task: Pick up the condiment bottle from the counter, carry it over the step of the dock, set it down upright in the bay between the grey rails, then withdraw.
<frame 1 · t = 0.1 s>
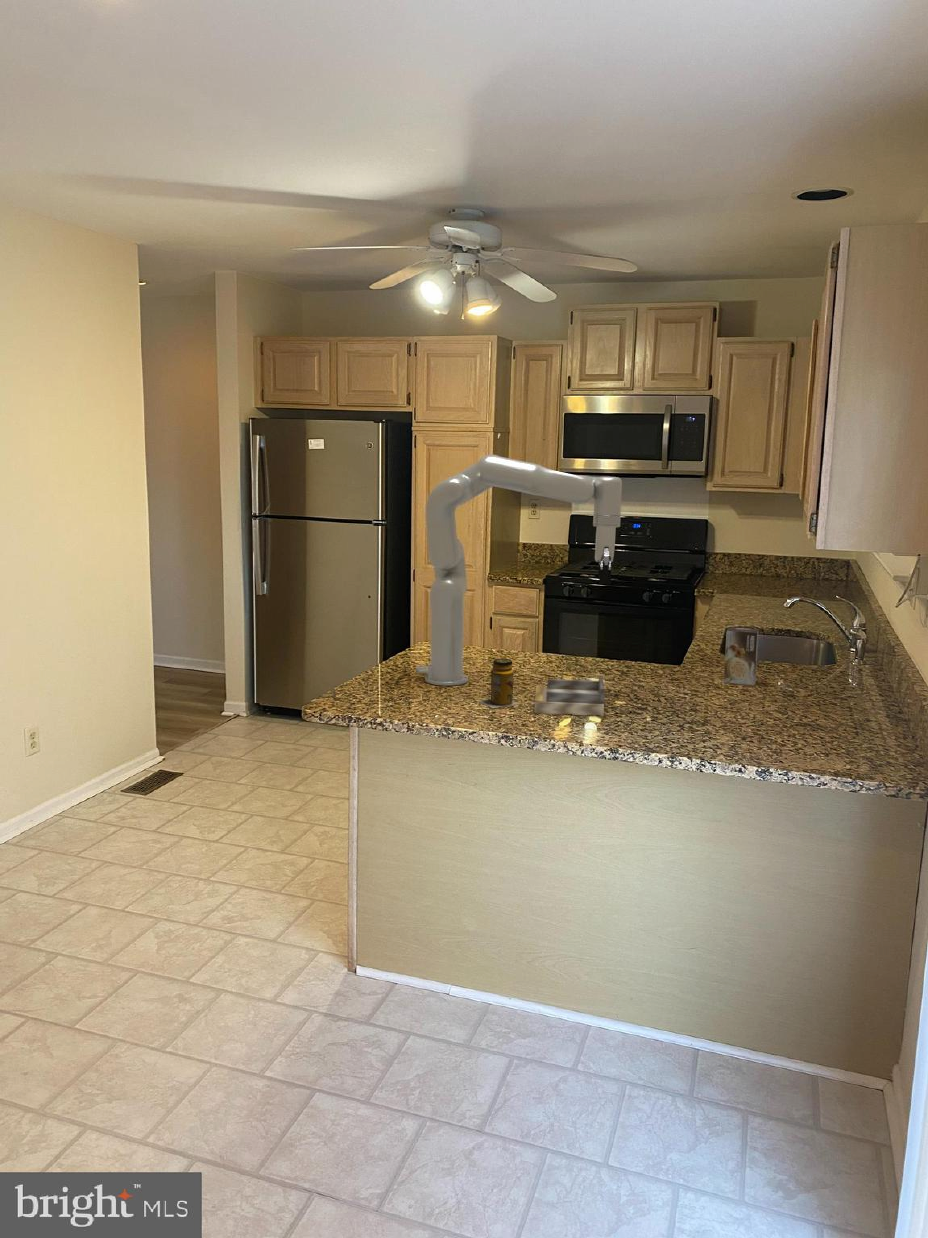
hand: (604, 581, 264), 31 cm above the worktop, tool pointing down, fingers open, 9 cm apart
coffee box: (739, 682, 279), on the worktop
condiment: (498, 704, 253), on the worktop
dock: (568, 706, 251), on the worktop
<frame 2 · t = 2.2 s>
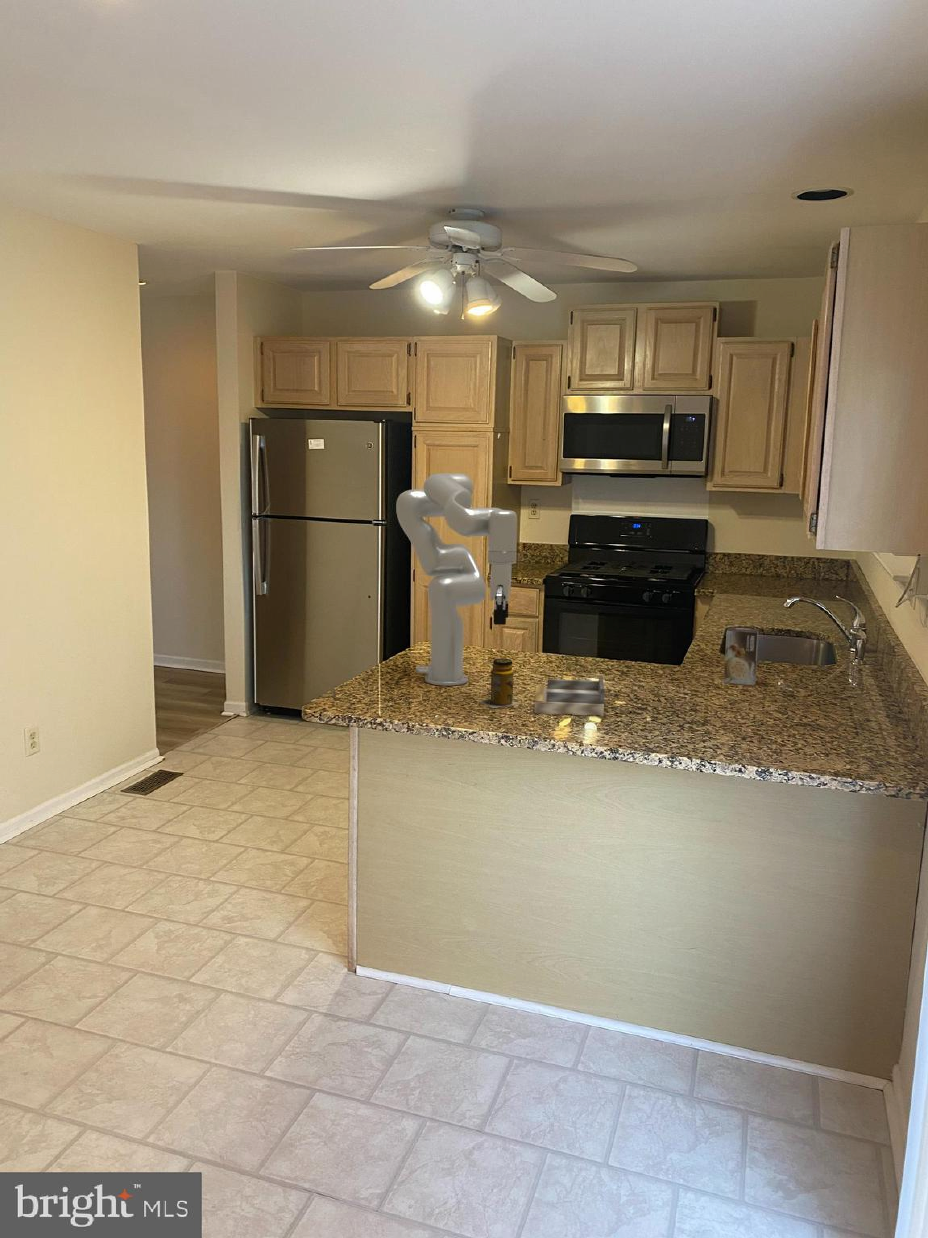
hand: (500, 621, 248), 23 cm above the worktop, tool pointing down, fingers open, 9 cm apart
nothing on the worktop moved.
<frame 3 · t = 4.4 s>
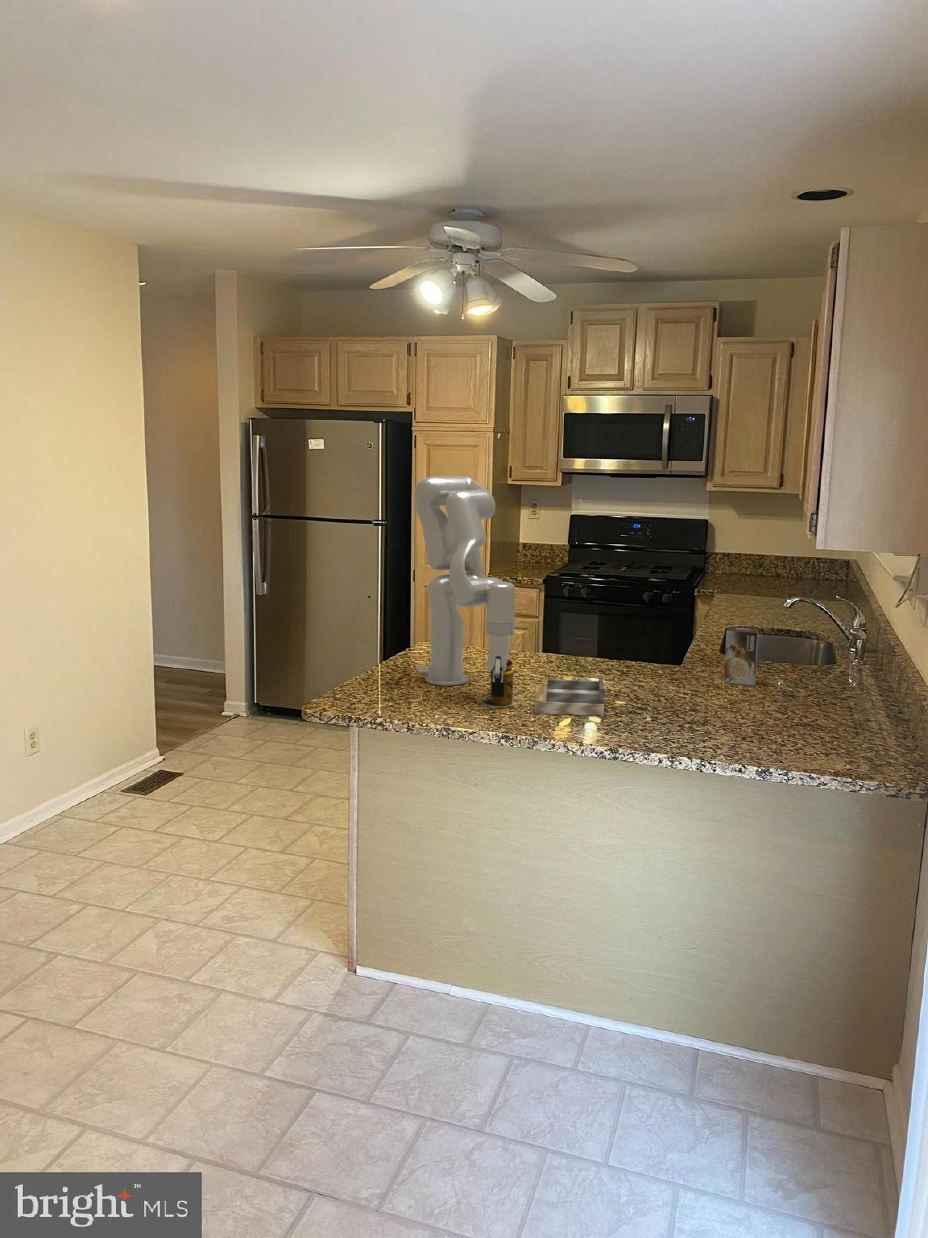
hand: (498, 692, 252), 3 cm above the worktop, tool pointing down, fingers closed on condiment, 6 cm apart
condiment: (498, 704, 252), on the worktop, touching gripper
everything else where it was.
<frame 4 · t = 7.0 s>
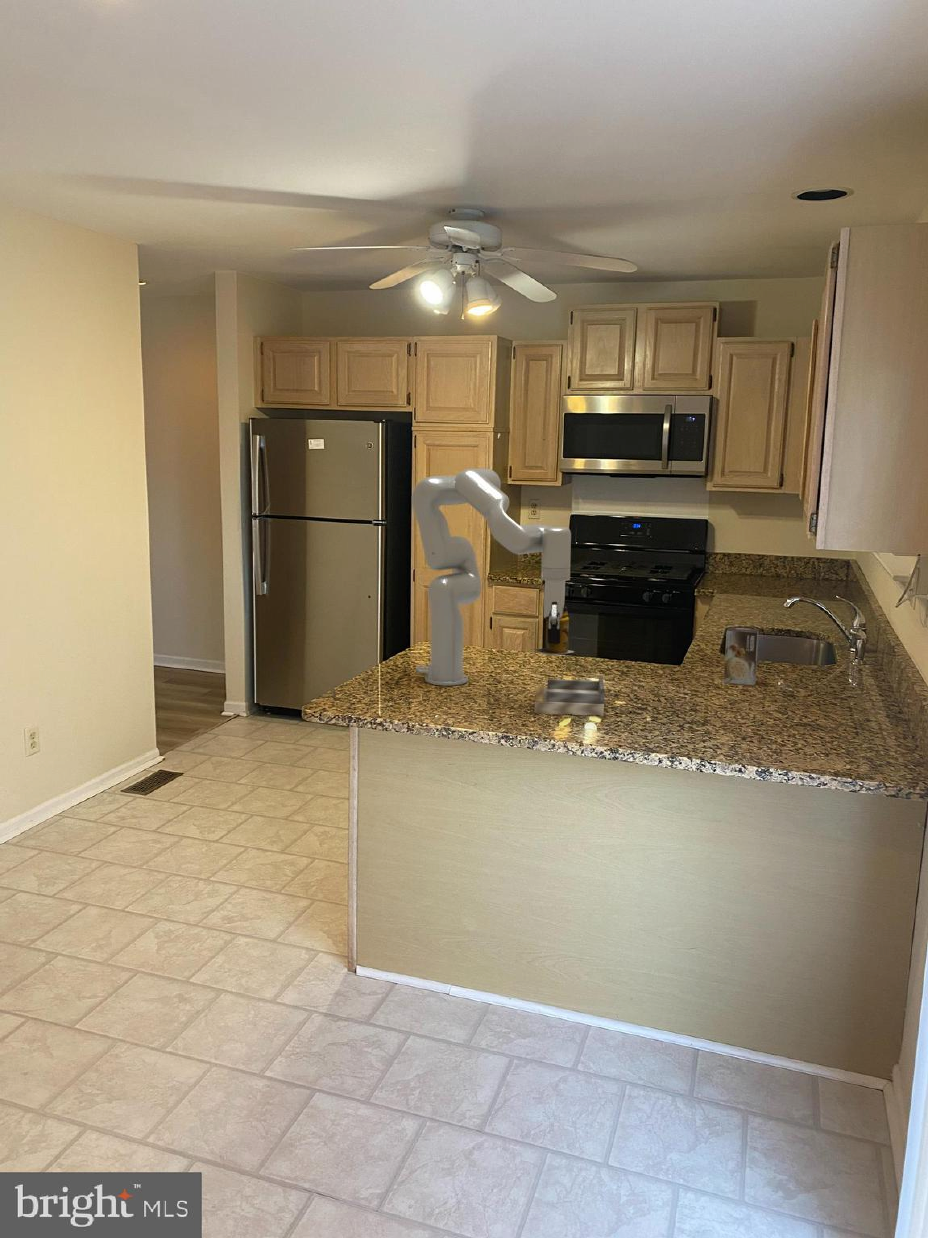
hand: (554, 640, 248), 18 cm above the worktop, tool pointing down, fingers closed on condiment, 6 cm apart
condiment: (553, 652, 248), point 15 cm above the worktop, touching gripper
everything else where it was.
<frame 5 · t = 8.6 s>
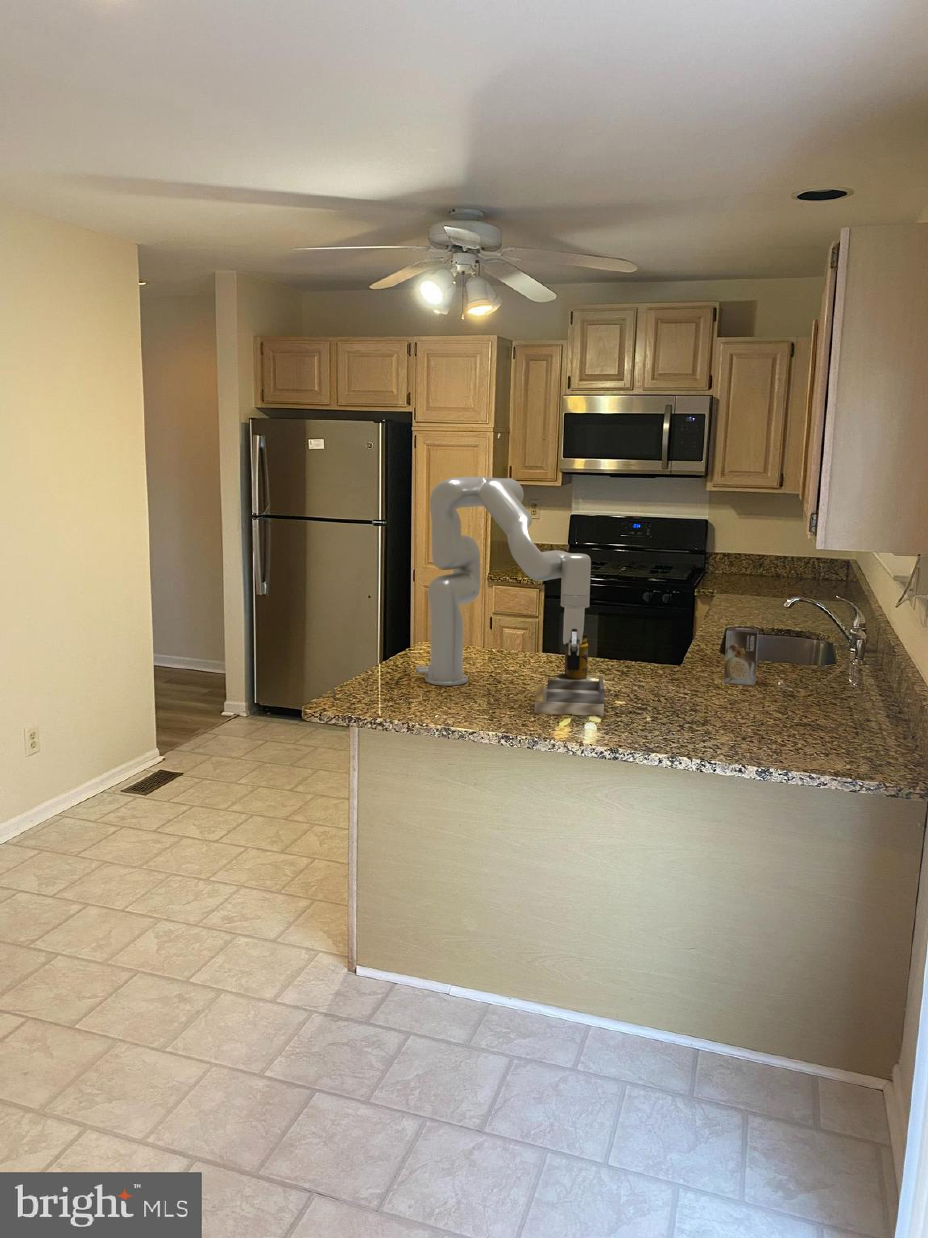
hand: (573, 666, 248), 11 cm above the worktop, tool pointing down, fingers closed on condiment, 6 cm apart
condiment: (572, 678, 249), point 8 cm above the worktop, touching gripper
everything else where it was.
when the fingers open (8 cm above the worktop, at t = 9.7 s): condiment drops 2 cm, resting on dock.
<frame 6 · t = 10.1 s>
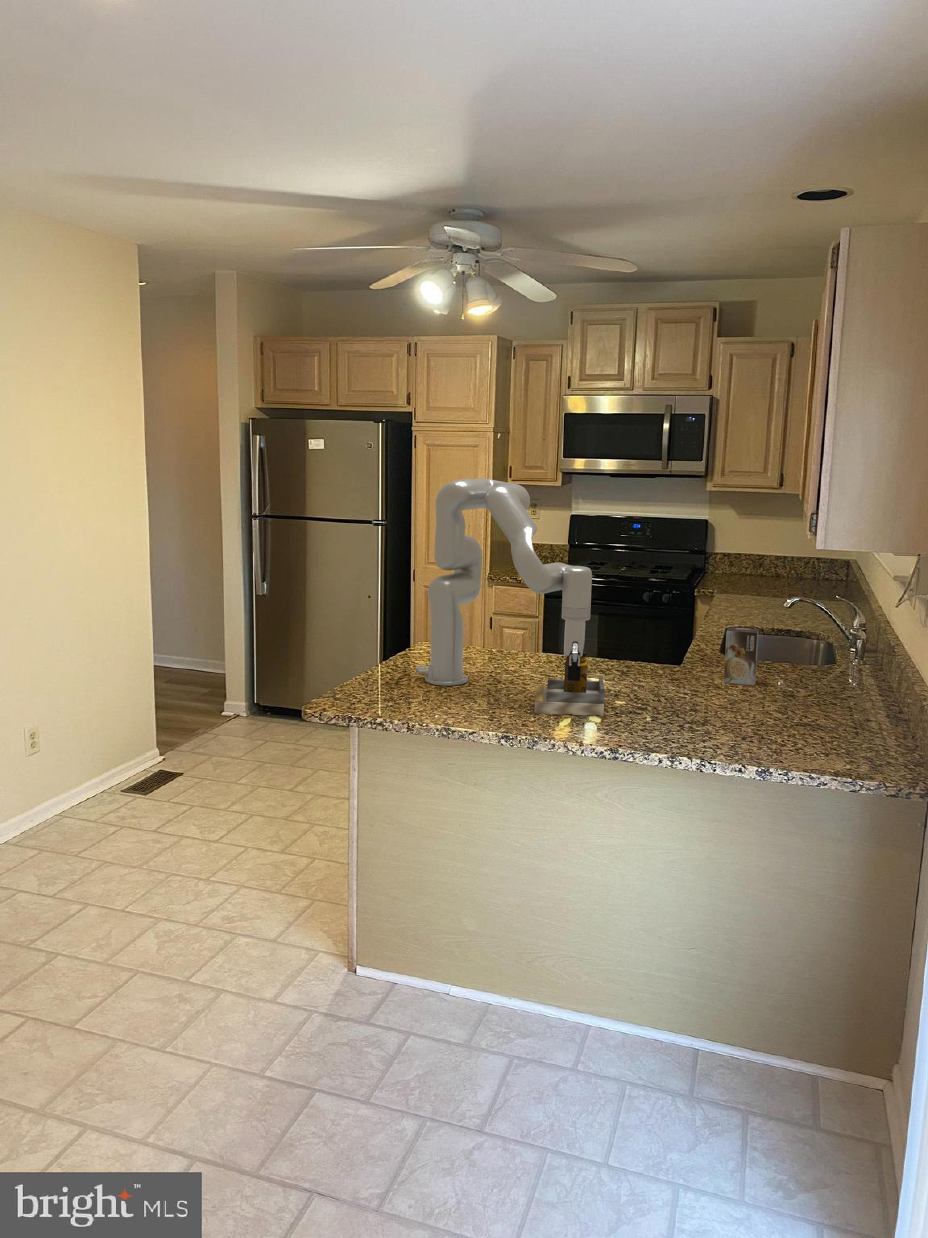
hand: (573, 675, 249), 8 cm above the worktop, tool pointing down, fingers open, 9 cm apart
condiment: (571, 696, 250), point 3 cm above the worktop, touching dock
everything else where it was.
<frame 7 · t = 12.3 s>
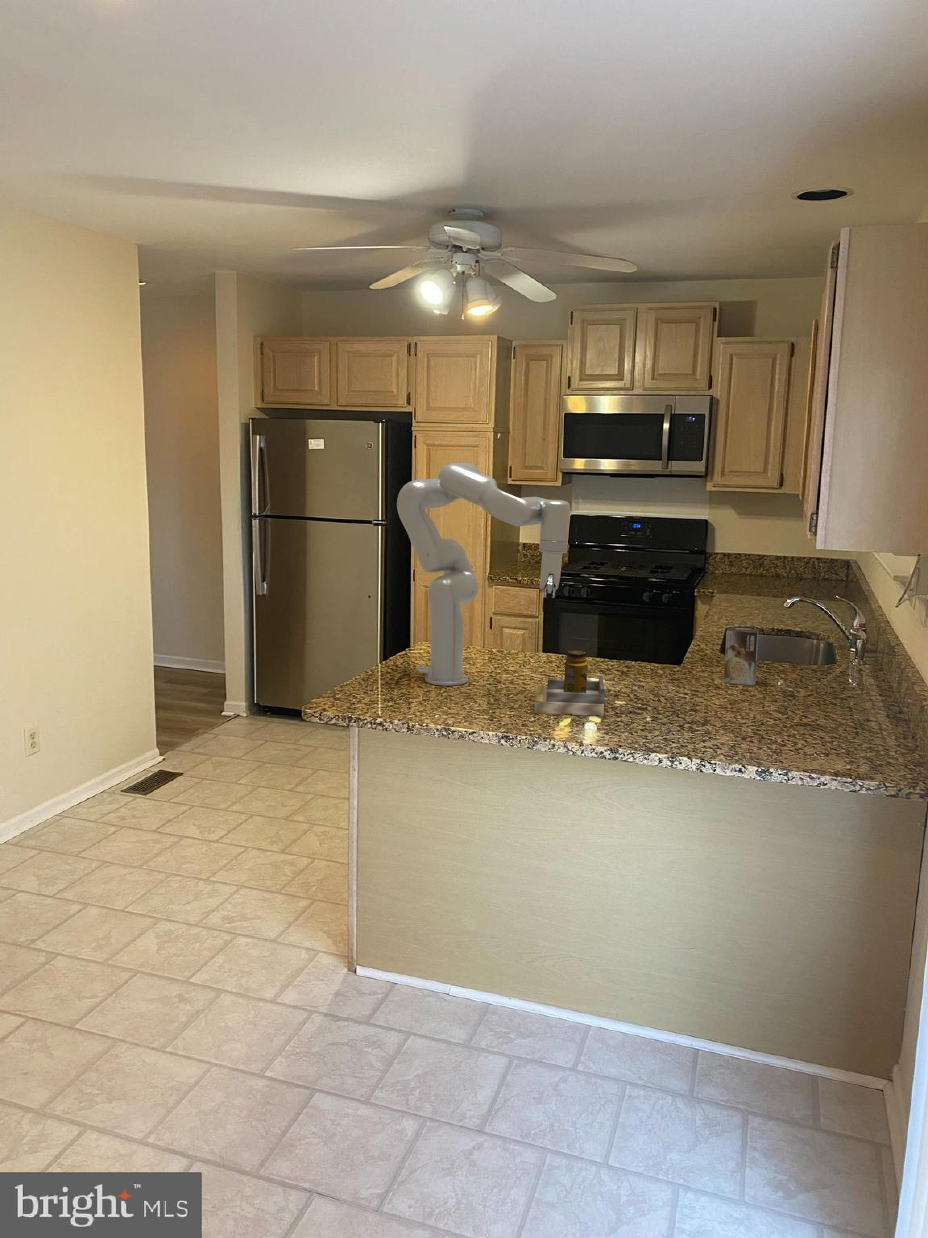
hand: (549, 608, 253), 25 cm above the worktop, tool pointing down, fingers open, 9 cm apart
nothing on the worktop moved.
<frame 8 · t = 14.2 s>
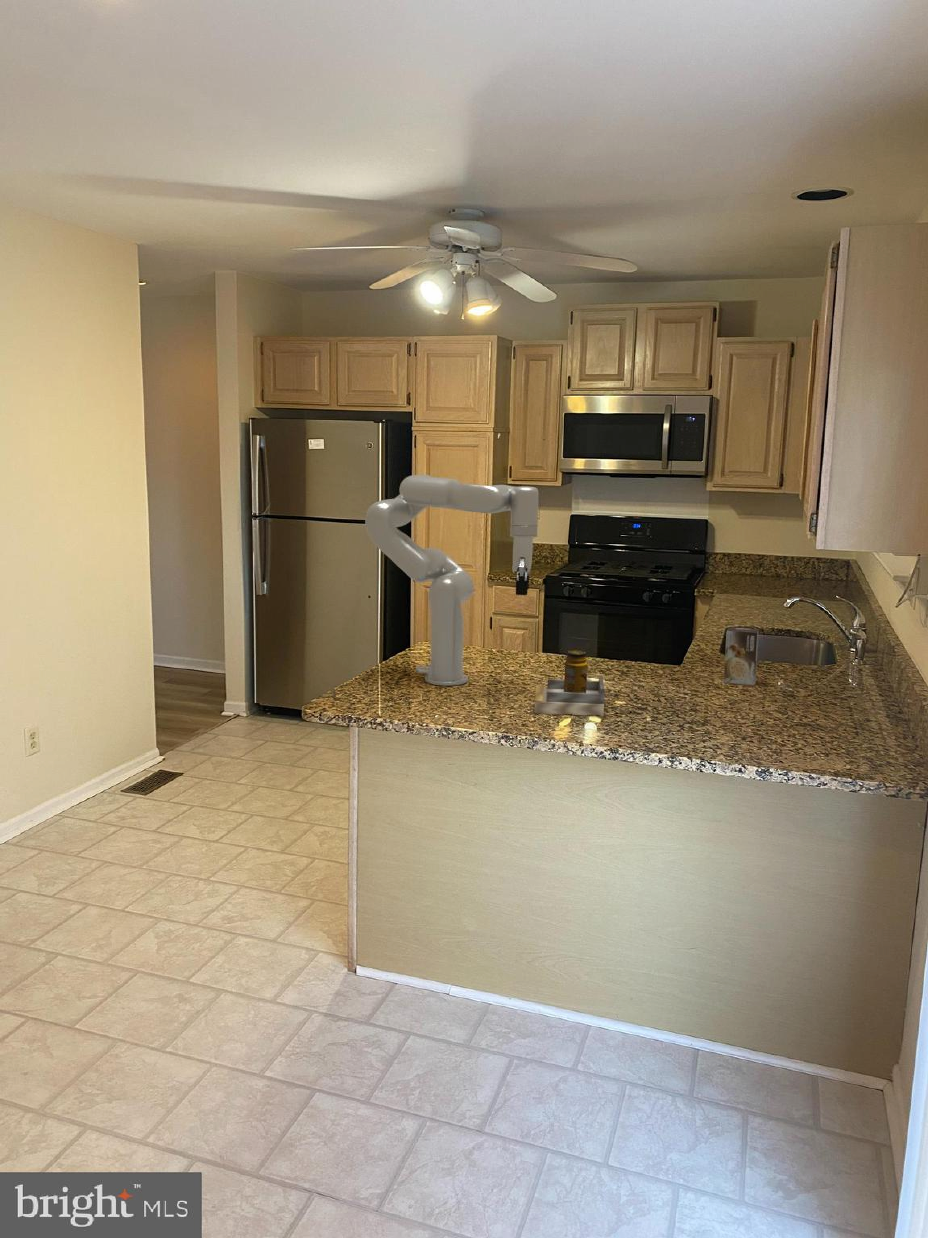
hand: (522, 592, 261), 28 cm above the worktop, tool pointing down, fingers open, 9 cm apart
nothing on the worktop moved.
at the end: condiment inside the target area on the dock (0.3 cm from its centre), point 2.8 cm above the dock's base; condiment tilted 0°; the gripper is holding nothing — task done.
